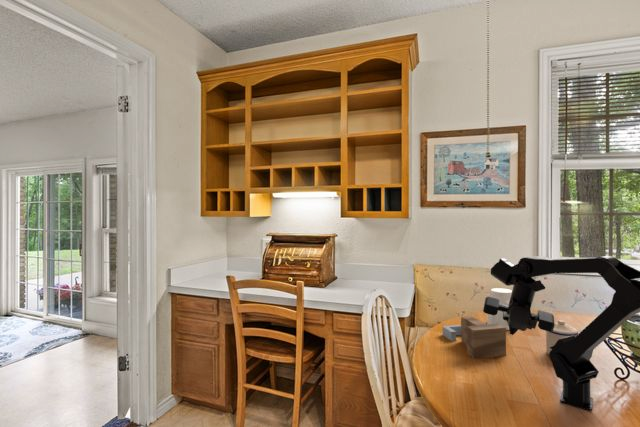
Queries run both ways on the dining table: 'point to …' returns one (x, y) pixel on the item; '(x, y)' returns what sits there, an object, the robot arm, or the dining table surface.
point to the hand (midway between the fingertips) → (511, 333)
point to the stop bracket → (451, 332)
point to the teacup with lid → (559, 334)
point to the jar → (503, 299)
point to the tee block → (483, 338)
